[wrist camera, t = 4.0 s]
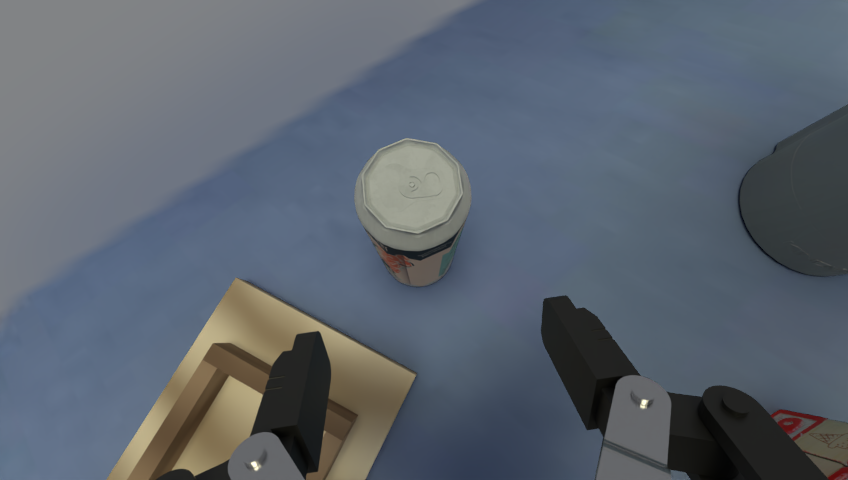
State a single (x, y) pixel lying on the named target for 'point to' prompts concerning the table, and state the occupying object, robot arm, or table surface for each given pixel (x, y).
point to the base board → (245, 385)
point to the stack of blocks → (818, 440)
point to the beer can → (413, 208)
